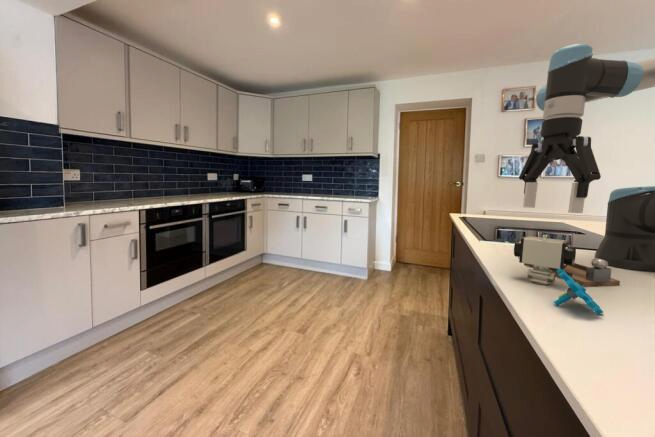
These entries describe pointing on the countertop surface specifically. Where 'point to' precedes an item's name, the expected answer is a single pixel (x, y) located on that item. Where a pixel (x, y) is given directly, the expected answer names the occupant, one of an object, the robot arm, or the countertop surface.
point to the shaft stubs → (598, 271)
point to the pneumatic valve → (544, 256)
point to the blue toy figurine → (575, 293)
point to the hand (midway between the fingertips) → (549, 210)
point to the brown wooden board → (581, 276)
